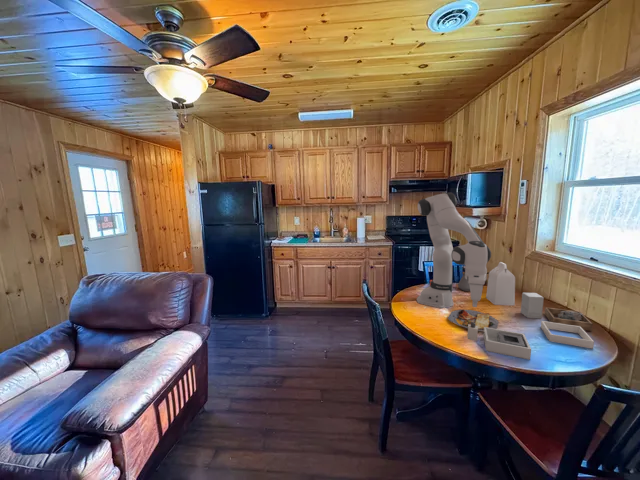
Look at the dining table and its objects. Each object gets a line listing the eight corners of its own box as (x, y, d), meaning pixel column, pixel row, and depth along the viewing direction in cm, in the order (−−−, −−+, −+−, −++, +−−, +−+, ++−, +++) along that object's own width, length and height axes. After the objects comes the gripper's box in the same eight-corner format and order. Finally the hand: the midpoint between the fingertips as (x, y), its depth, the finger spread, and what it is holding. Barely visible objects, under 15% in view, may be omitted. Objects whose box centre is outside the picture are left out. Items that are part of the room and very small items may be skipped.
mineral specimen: (563, 332, 142) (582, 327, 140) (570, 328, 135) (591, 323, 134) (550, 315, 147) (569, 310, 146) (557, 310, 141) (577, 305, 139)
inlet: (499, 349, 118) (500, 341, 117) (497, 340, 126) (497, 332, 125) (524, 354, 114) (525, 346, 113) (520, 344, 122) (521, 336, 121)
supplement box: (542, 318, 147) (544, 297, 145) (527, 318, 148) (529, 296, 146) (534, 313, 154) (536, 292, 152) (520, 312, 155) (521, 292, 153)
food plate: (455, 309, 163) (455, 303, 162) (500, 319, 148) (500, 313, 147) (444, 325, 144) (444, 320, 143) (494, 339, 129) (495, 333, 128)
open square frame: (549, 341, 125) (550, 334, 124) (540, 327, 138) (541, 320, 137) (593, 348, 118) (594, 341, 117) (579, 333, 131) (580, 326, 130)
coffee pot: (457, 291, 193) (458, 271, 190) (457, 286, 203) (458, 267, 200) (492, 294, 184) (493, 274, 181) (489, 289, 194) (491, 269, 191)
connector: (467, 339, 129) (468, 323, 128) (467, 335, 132) (468, 320, 131) (477, 340, 127) (478, 325, 126) (476, 337, 130) (477, 322, 129)
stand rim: (552, 325, 139) (553, 318, 139) (544, 313, 153) (545, 307, 152) (591, 331, 132) (592, 323, 132) (579, 318, 145) (580, 311, 145)
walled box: (485, 350, 119) (486, 340, 118) (483, 336, 131) (484, 326, 130) (530, 360, 111) (531, 349, 110) (523, 343, 123) (524, 333, 123)
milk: (514, 305, 165) (518, 265, 161) (494, 304, 167) (497, 265, 163) (504, 298, 177) (507, 260, 173) (486, 297, 179) (488, 260, 175)
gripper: (467, 269, 135) (466, 294, 137) (468, 280, 117) (467, 309, 119) (481, 270, 132) (480, 296, 134) (485, 282, 114) (483, 312, 116)
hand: (474, 302), depth 127 cm, fingers open, 8 cm apart
